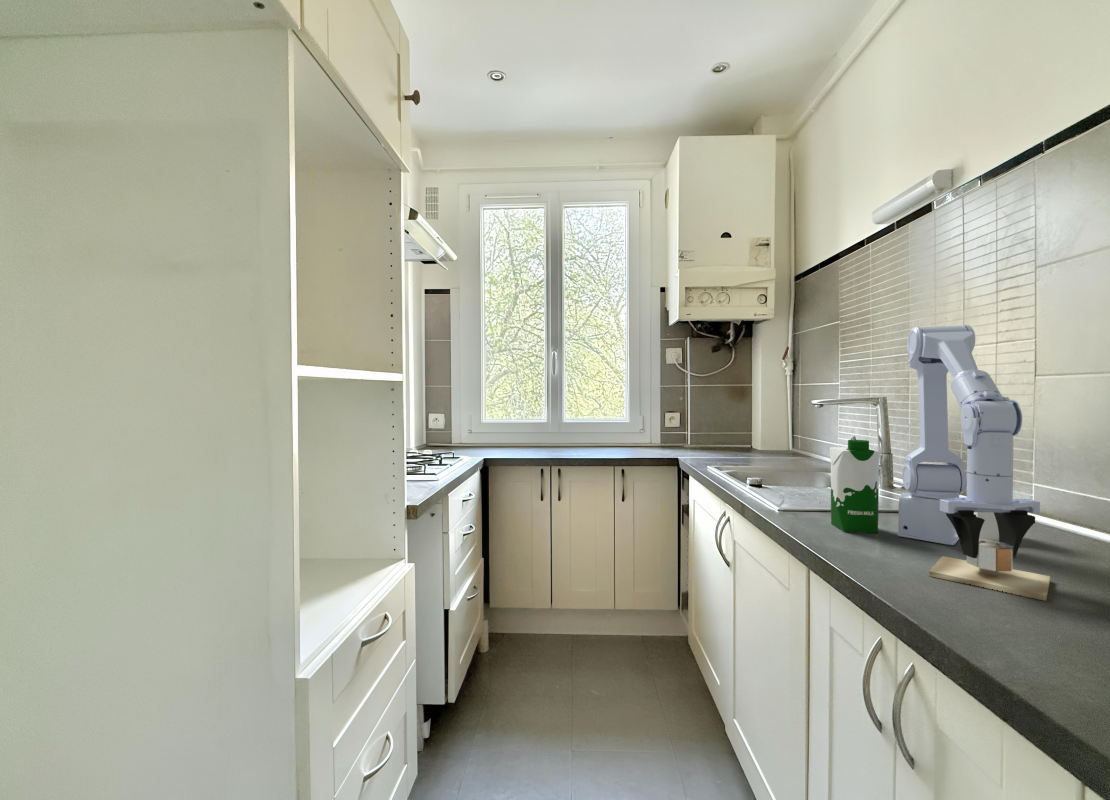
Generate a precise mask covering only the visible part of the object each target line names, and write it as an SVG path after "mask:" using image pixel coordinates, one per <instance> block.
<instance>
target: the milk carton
mask: <svg viewBox="0 0 1110 800" xmlns="http://www.w3.org/2000/svg"><path fill="white" fill-rule="evenodd" d="M829 455H830V456H829V457H830V524H831V525H832V526H834V527H836V528H838V529H839V530H840V531H842V532H843V533H870V534H871V533H872V534H874V533H875V534H878V533H879V502H880V501H879V495H880V494H879V491H880V490H879V485H880V483H879V482H880V478H879V477H880V472H879V470H880V469H879V468H880V458H881V450H877V449H873V448H870V441H869V440H867V439H865V440H864V439H849V440H847V447H846V446H845V447H842V446H840V447H839V446H838V447H837V446H836V447H835V446H831V447H830V446H829Z"/></svg>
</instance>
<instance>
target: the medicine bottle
mask: <svg viewBox="0 0 1110 800" xmlns="http://www.w3.org/2000/svg"><path fill="white" fill-rule="evenodd" d="M974 514H976V517H979V518H982V519H984V520H985V521H984V523H983V525H982V528H981V531H980V536H979V539H986V540H993V541H999V531H998V525H997V521H996V518H995V515H994V512H974Z"/></svg>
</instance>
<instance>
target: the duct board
mask: <svg viewBox="0 0 1110 800" xmlns="http://www.w3.org/2000/svg"><path fill="white" fill-rule="evenodd" d="M979 545H982V546H988V547H994V548H999V546H997V545H994V544H988V543H980V544H979ZM928 576H929V577H933V578H937V579H942V580H947V581H951V582H956V583H961V584H964V583H965V585H969V584H971V585H970V586H974V585H975V586H974V587H978V586H979V588H983V587H984V589H988V590H992V589H993V591H997V590H998V591H999V592H1002V591H1003V592H1002V593H1006V592H1007V593H1008V594H1011V593H1012V595H1017V596H1020V595H1021V597H1024V598H1025V597H1026V598H1030V599H1036V600H1040V601H1045V602H1046V601H1047V598H1048V595H1049V594H1048V593H1049V588H1050V584H1051V576H1050V575H1046V574H1039V573H1035V572H1029V571H1024V570H1019V569H1015V568H1013V569H1012V571H993V570H988V569H983V568H979V567H975V566H973V565H971V564H968V563H967V559H960V558H955V557H950V556H945V555H944V556H943V555H941V557H940V558H939V559H938V560H937V562H935V564H934V565H933V566H932V567H931V568H930V569H929V571H928Z"/></svg>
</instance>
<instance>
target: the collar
mask: <svg viewBox="0 0 1110 800" xmlns="http://www.w3.org/2000/svg"><path fill="white" fill-rule="evenodd" d="M980 543H988V544H994V545H997V546H999V548H994V547H988V546H982V545H979V549H978V555H977V558H971V557H969V556H966V561H967V563H968V564H971V565H973V566H975V567H979V568H983V569H988V570H993V571H1012V569H1014V558H1013V546H1011V545H1009V544H1006V543H1003V542H999V541H993V540H986V539H979V544H980Z"/></svg>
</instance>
